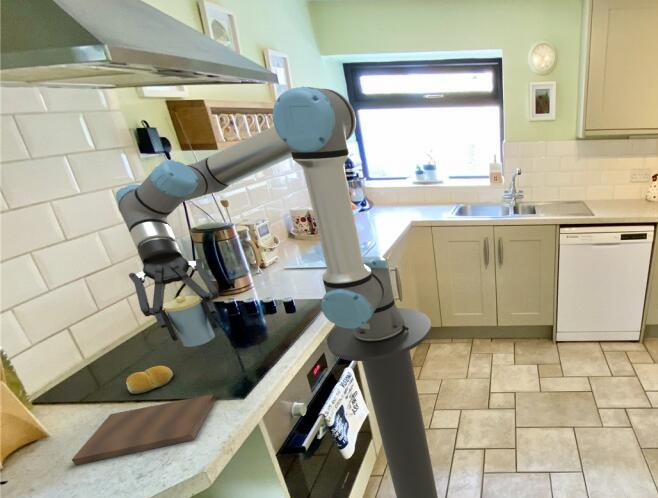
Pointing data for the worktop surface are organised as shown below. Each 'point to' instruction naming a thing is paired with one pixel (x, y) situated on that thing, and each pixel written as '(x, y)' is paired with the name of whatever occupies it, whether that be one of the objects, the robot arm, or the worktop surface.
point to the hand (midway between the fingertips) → (194, 331)
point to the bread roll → (148, 379)
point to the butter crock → (189, 320)
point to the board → (146, 429)
